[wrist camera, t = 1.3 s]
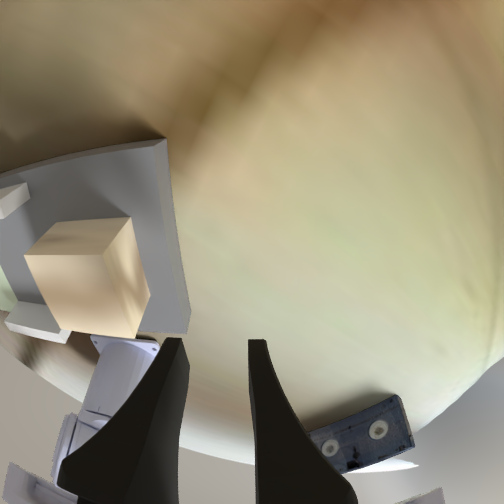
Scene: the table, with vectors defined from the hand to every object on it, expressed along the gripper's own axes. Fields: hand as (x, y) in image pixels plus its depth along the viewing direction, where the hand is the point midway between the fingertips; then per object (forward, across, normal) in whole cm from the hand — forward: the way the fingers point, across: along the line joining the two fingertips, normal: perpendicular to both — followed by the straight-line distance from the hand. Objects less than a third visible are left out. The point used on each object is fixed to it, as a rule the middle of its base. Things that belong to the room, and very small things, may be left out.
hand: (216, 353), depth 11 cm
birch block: (+7, +8, 0) cm, 11 cm away
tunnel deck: (+9, +22, 0) cm, 23 cm away
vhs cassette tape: (+10, -18, +35) cm, 41 cm away
